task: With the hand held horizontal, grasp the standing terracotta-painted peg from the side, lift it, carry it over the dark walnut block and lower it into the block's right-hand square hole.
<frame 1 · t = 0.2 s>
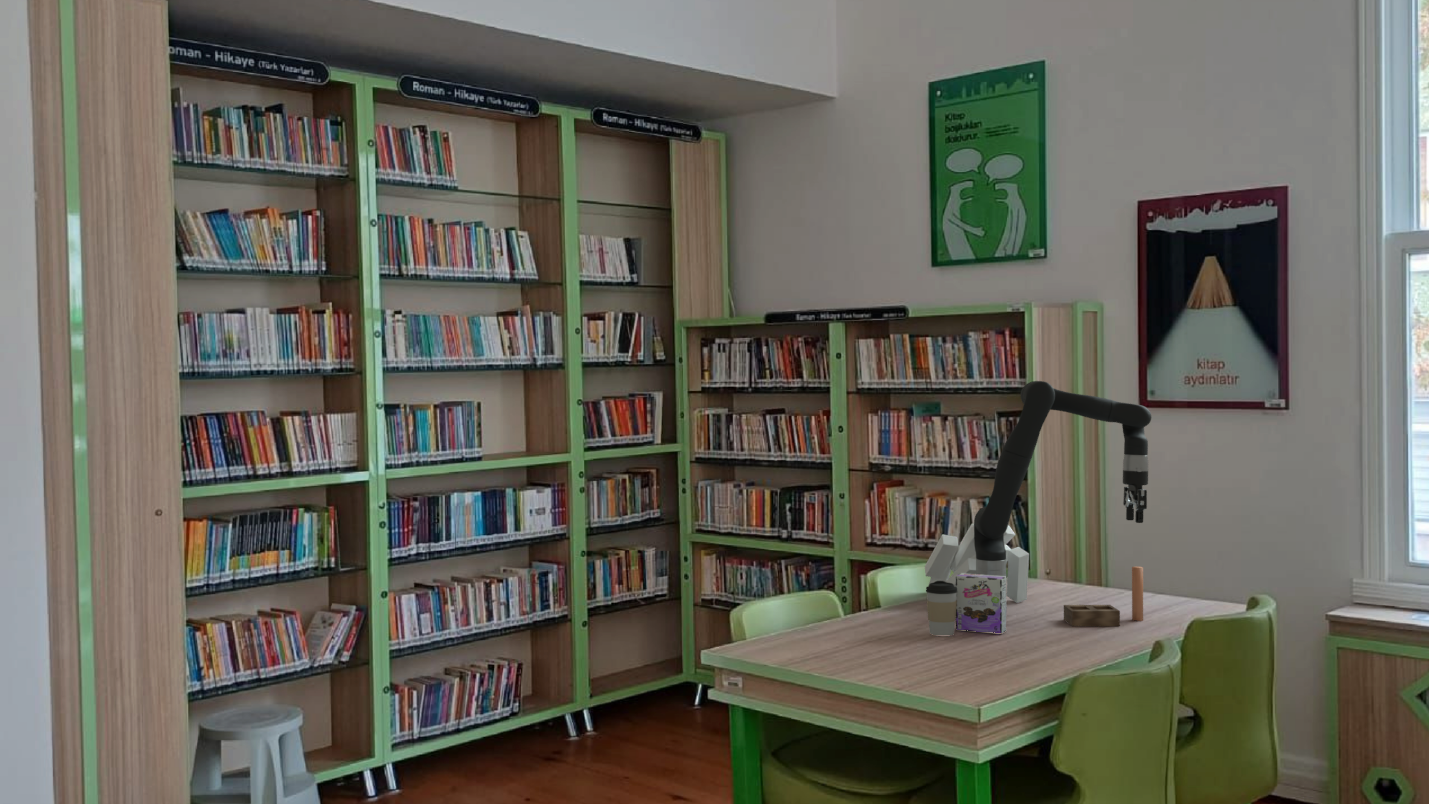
hand: (1134, 521, 390), 29 cm above the table, tool pointing down, fingers open, 8 cm apart
coffee cup: (941, 634, 363), on the table
pile of blocks: (975, 601, 414), on the table
hole block: (1091, 622, 377), on the table
peg: (1137, 619, 380), on the table
candy box: (981, 632, 366), on the table
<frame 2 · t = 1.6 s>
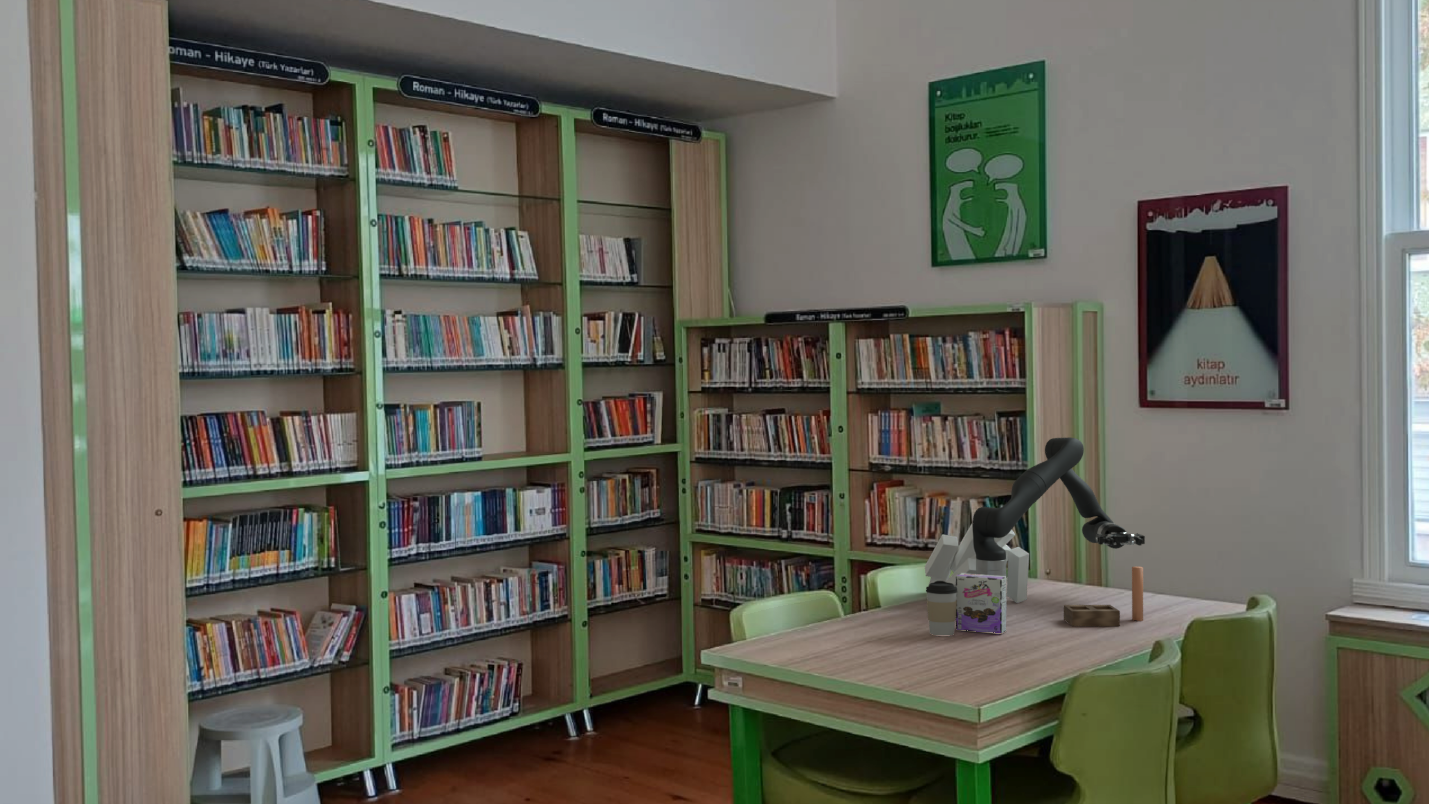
hand: (1126, 542, 390), 22 cm above the table, tool horizontal, fingers open, 8 cm apart
nothing on the table moved.
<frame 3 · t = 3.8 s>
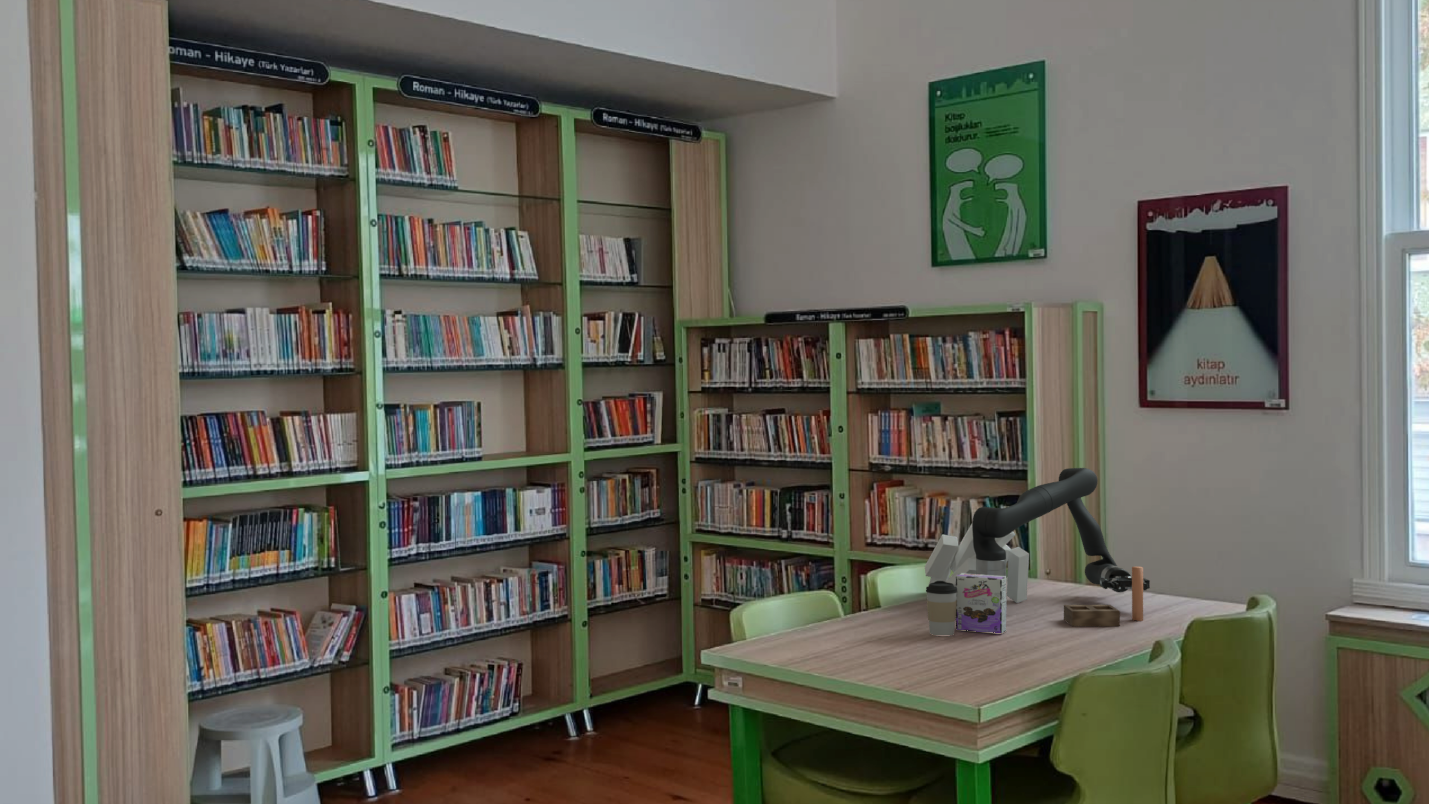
hand: (1131, 587, 386), 9 cm above the table, tool horizontal, fingers open, 8 cm apart
nothing on the table moved.
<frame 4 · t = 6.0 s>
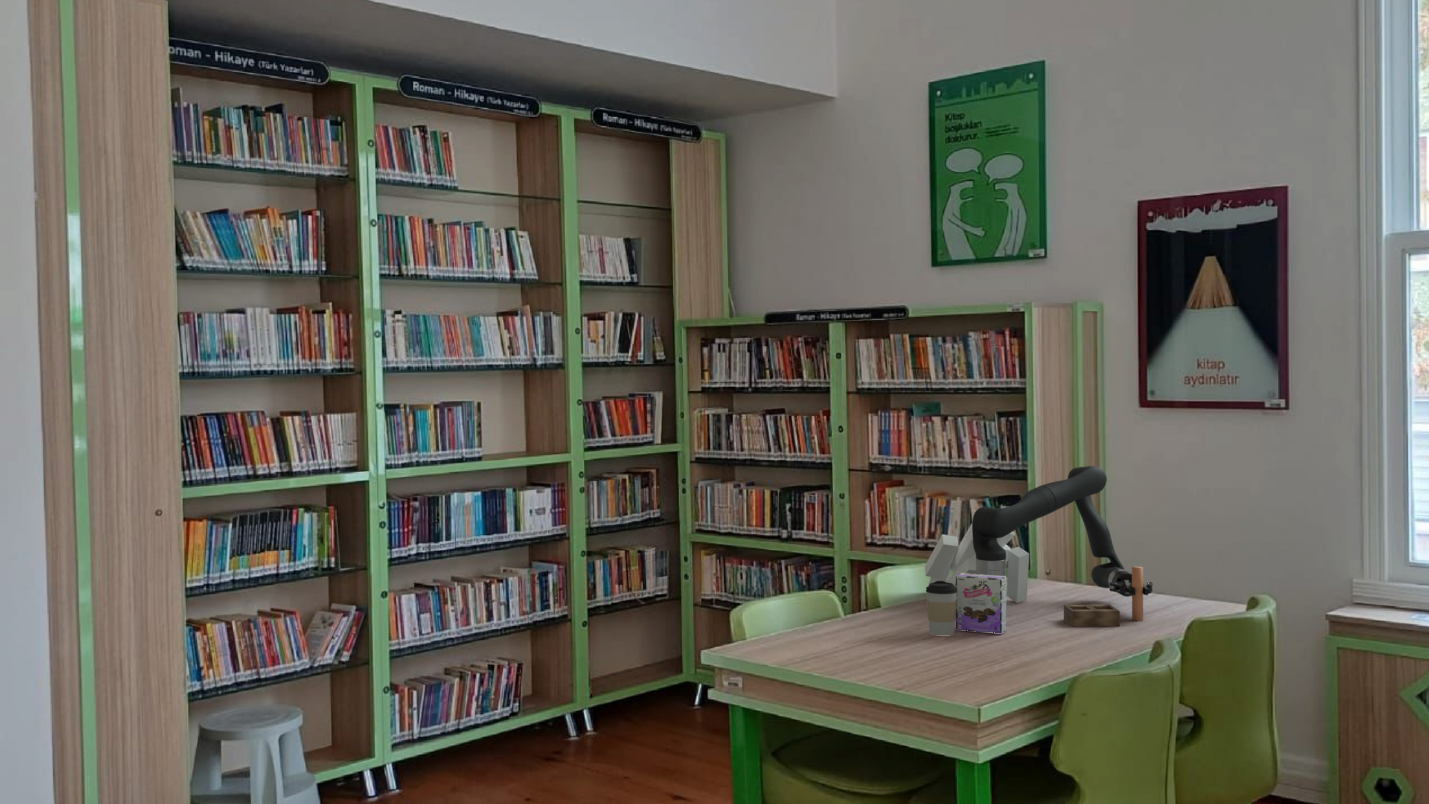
hand: (1140, 592, 377), 9 cm above the table, tool horizontal, fingers closed on peg, 3 cm apart
peg: (1137, 619, 380), on the table, touching gripper
everything else where it was.
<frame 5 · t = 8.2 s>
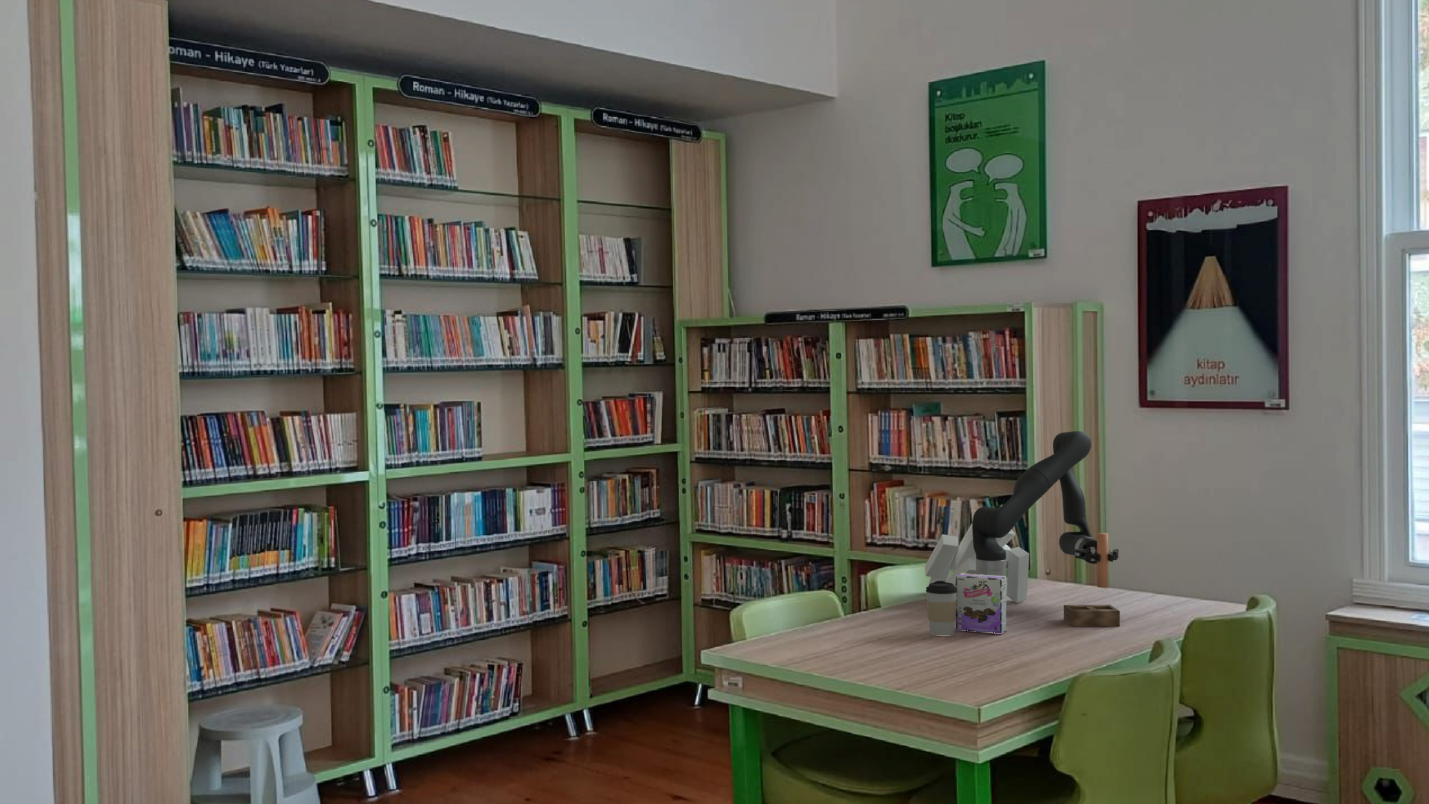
hand: (1105, 558, 373), 20 cm above the table, tool horizontal, fingers closed on peg, 3 cm apart
peg: (1102, 586, 376), point 11 cm above the table, touching gripper
everything else where it was.
when the fingers open (11 cm above the table, at t = 10.6 s): peg drops 2 cm, resting in hole block.
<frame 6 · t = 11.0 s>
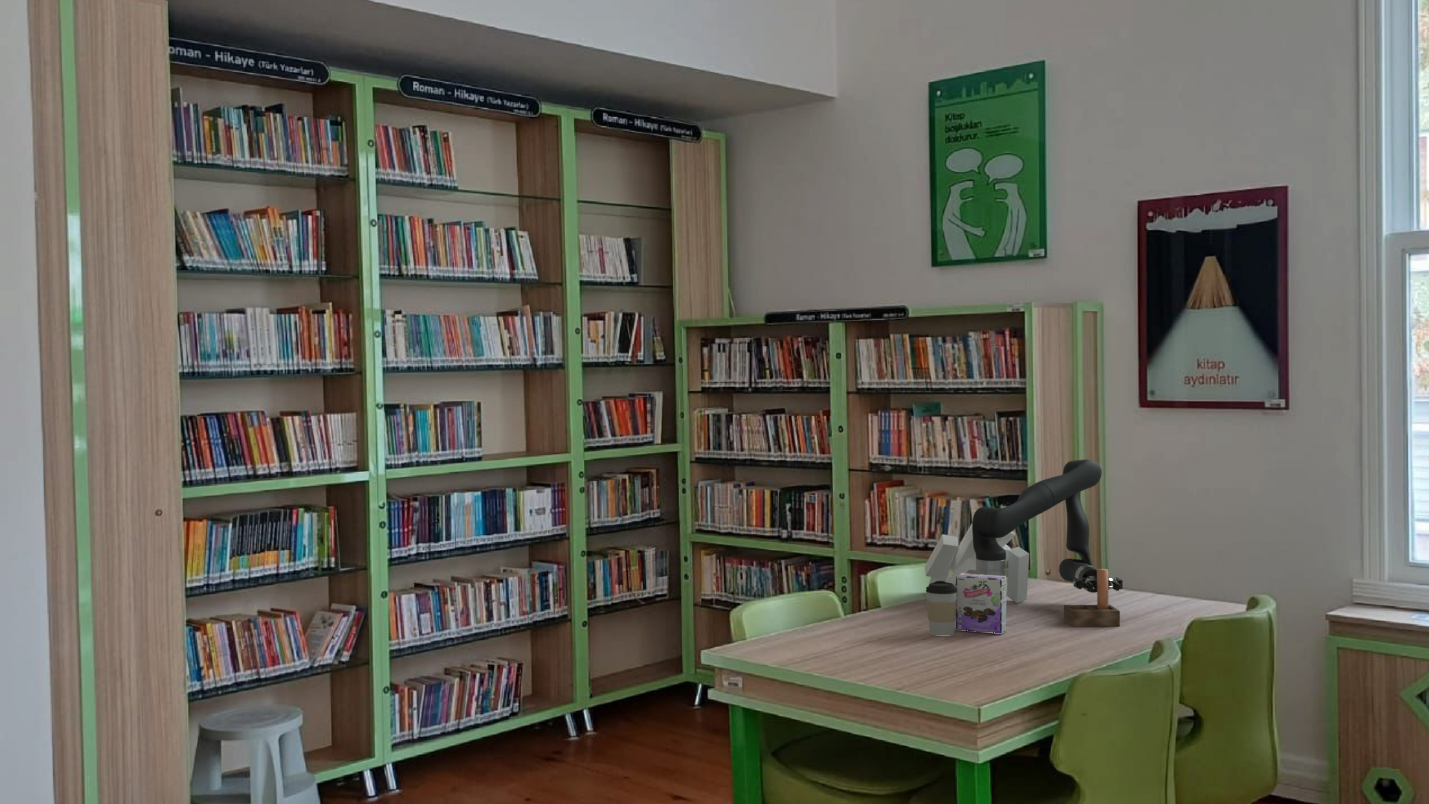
hand: (1105, 587, 374), 11 cm above the table, tool horizontal, fingers open, 7 cm apart
peg: (1103, 622, 377), resting in hole block
everything else where it was.
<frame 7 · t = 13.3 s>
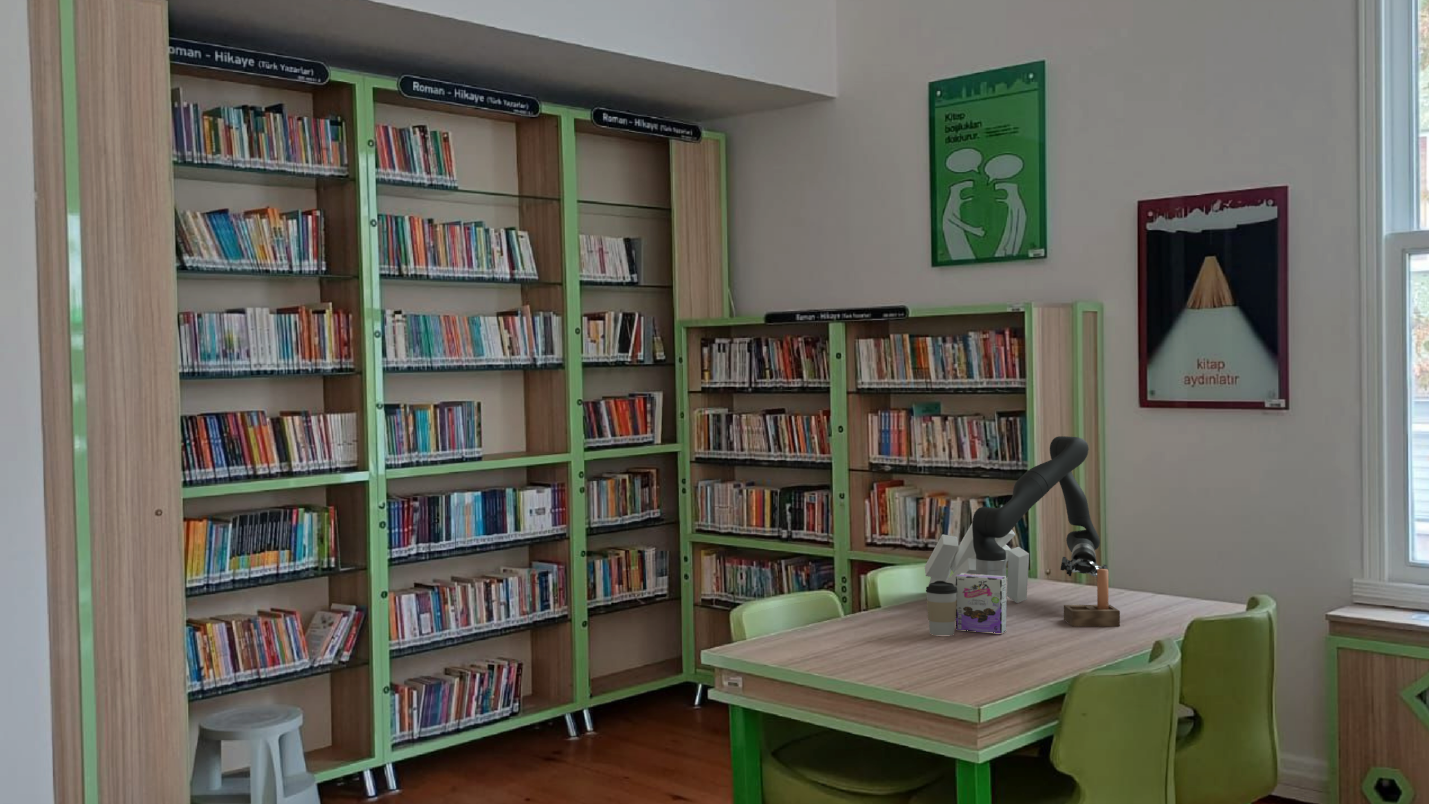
hand: (1084, 576, 387), 12 cm above the table, tool horizontal, fingers open, 8 cm apart
nothing on the table moved.
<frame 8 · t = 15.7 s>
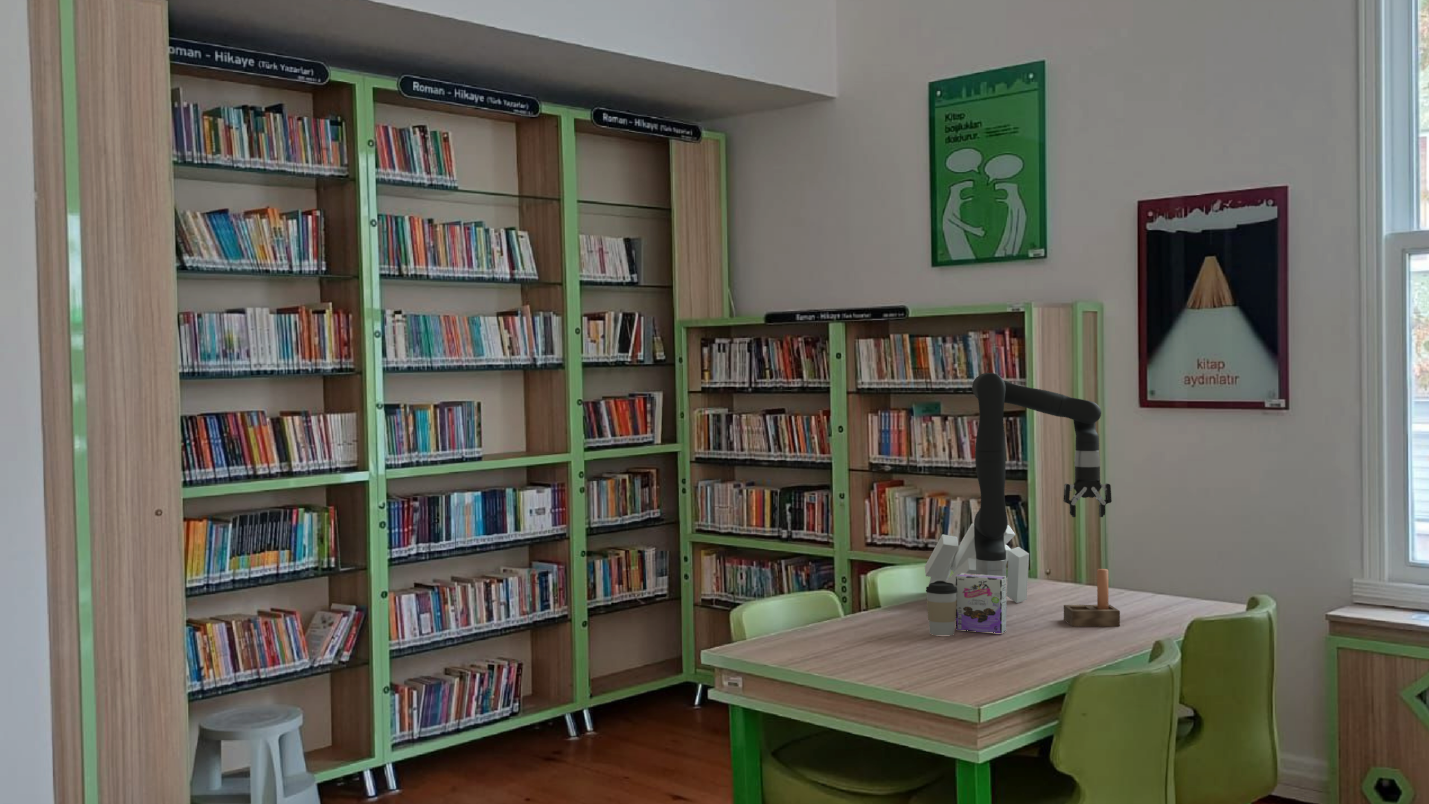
hand: (1087, 517, 391), 30 cm above the table, tool pointing down, fingers open, 8 cm apart
nothing on the table moved.
at the end: peg 0.1 cm from the target spot on the hole block, point 0.0 cm above the hole block's base; peg tilted 0°; the gripper is holding nothing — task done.
